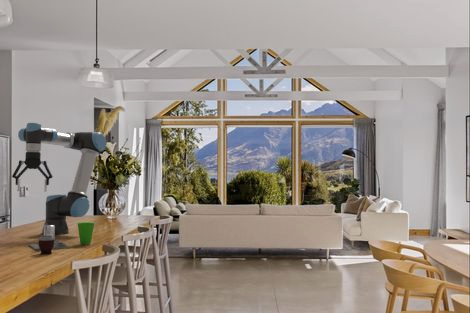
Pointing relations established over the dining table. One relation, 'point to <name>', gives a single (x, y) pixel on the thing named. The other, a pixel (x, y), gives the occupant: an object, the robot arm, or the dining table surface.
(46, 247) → the mate gourd
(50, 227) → the elbow
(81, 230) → the cup
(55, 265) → the dining table surface
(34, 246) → the duct flange
